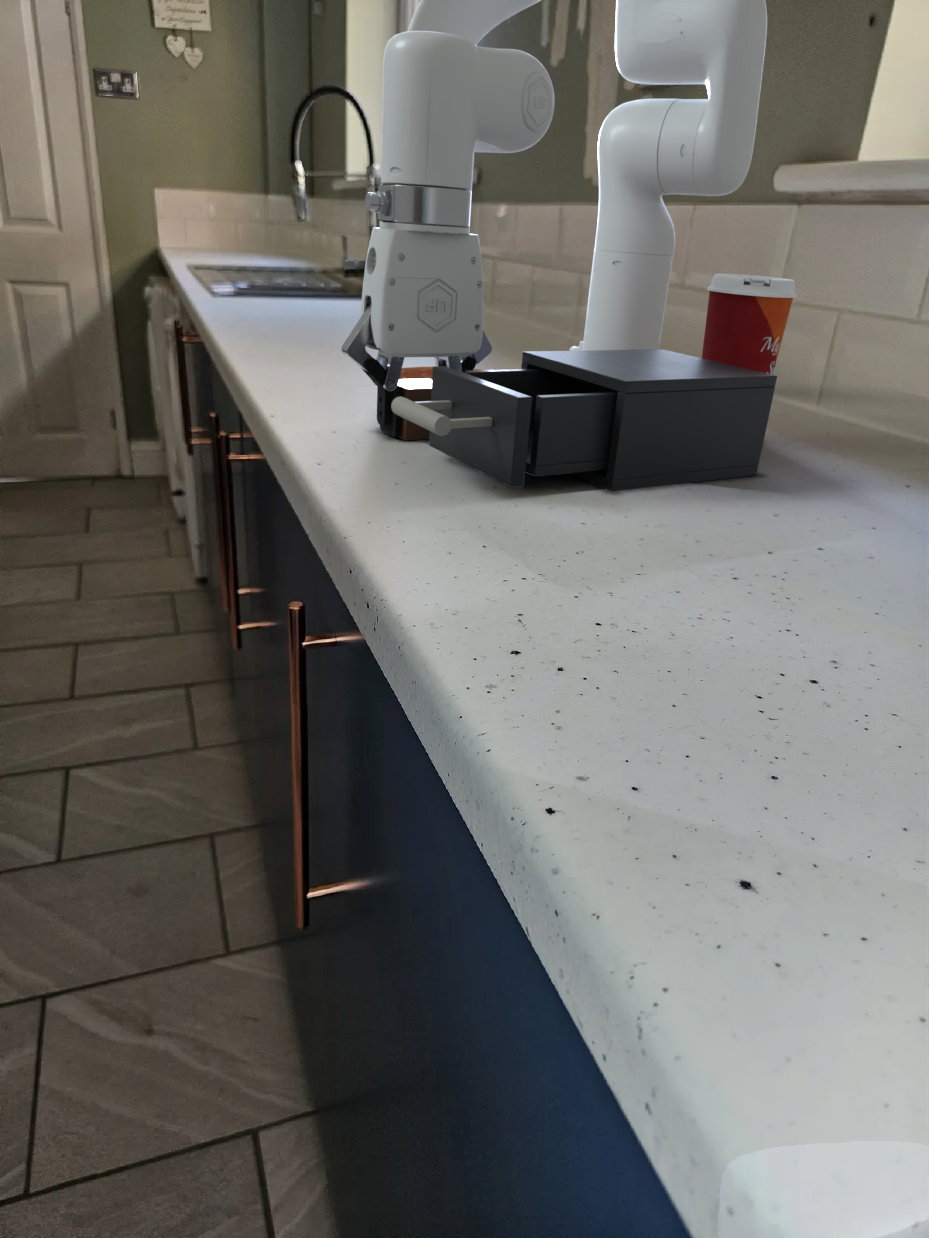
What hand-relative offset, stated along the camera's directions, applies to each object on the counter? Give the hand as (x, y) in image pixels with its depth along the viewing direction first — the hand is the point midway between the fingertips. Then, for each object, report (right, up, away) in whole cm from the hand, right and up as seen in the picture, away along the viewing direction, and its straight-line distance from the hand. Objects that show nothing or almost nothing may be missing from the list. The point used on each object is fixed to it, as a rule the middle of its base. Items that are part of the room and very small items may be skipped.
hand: (416, 429), depth 80 cm
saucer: (+4, +5, +13) cm, 14 cm away
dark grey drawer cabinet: (+19, -4, -4) cm, 20 cm away
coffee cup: (+30, +1, +8) cm, 31 cm away
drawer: (+9, -5, -10) cm, 14 cm away
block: (0, 0, 0) cm, 0 cm away
